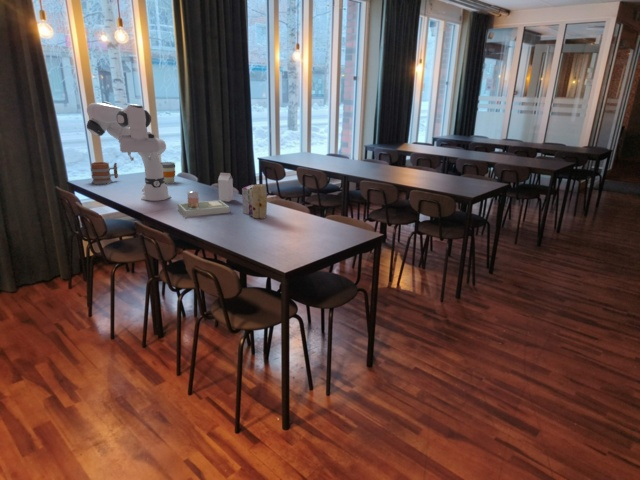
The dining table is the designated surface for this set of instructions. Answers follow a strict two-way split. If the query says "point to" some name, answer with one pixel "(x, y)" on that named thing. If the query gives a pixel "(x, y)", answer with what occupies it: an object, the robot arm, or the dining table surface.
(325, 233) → the dining table surface
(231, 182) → the milk carton
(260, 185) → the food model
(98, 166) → the mug
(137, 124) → the robot arm
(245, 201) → the candy bar box
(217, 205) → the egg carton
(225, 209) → the pale green tray
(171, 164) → the reusable coffee cup
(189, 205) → the glass jar
